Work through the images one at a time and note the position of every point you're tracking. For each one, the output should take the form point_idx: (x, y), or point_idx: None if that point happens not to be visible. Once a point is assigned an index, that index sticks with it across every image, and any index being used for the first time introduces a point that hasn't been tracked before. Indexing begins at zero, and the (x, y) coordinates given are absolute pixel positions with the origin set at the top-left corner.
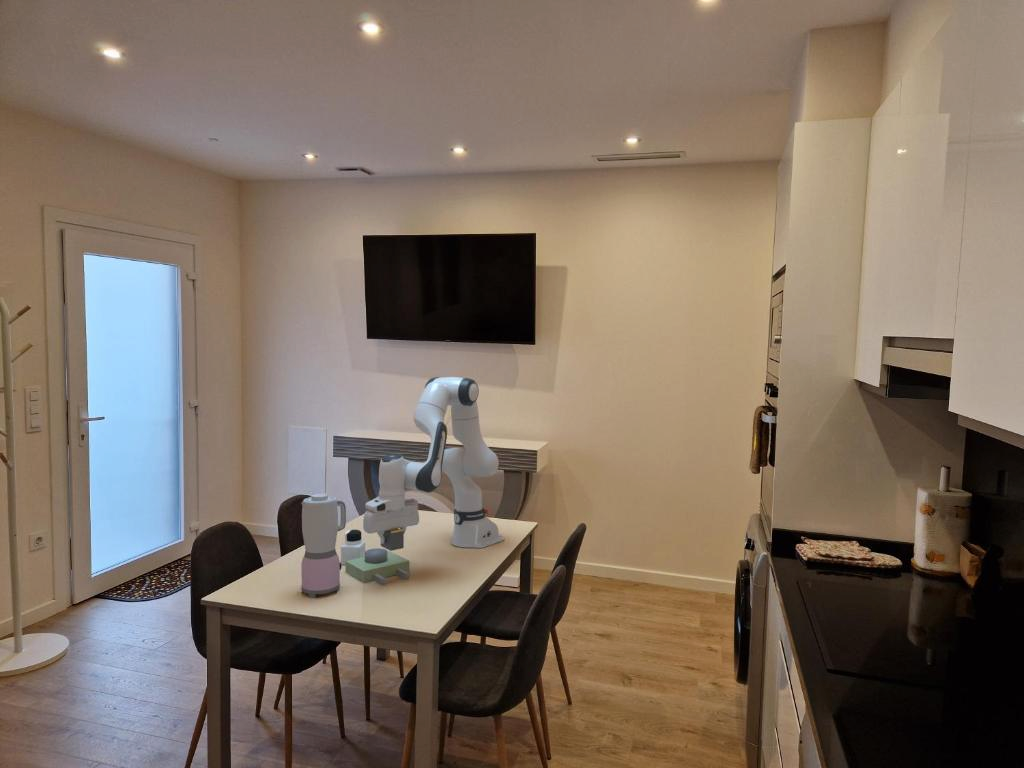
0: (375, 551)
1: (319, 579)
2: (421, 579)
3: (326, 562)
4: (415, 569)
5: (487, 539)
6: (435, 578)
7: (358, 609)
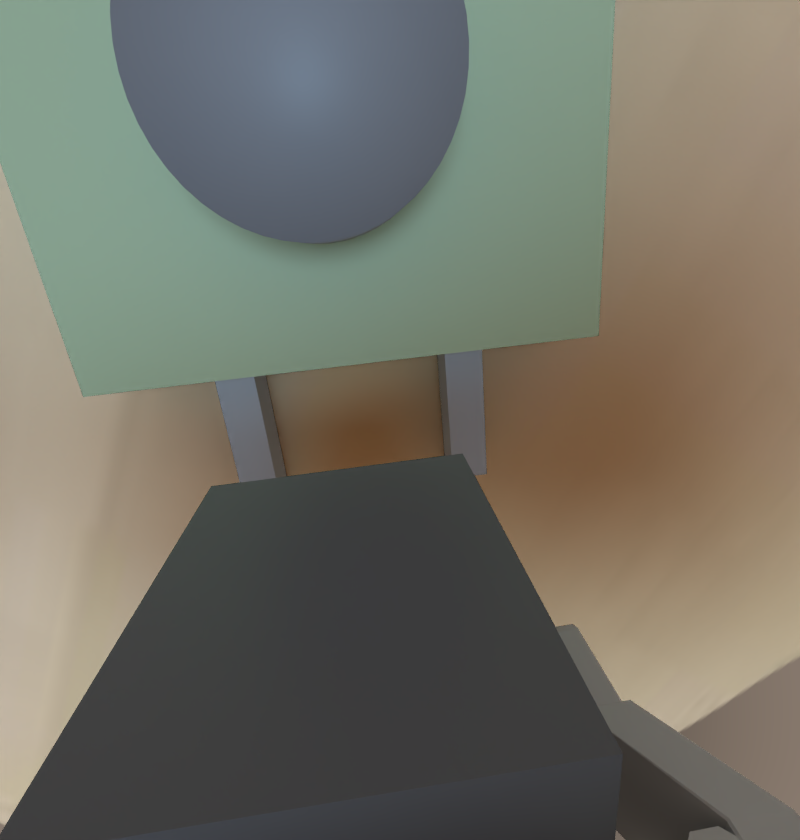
0: (295, 28)
1: None
2: (533, 510)
3: None
4: (619, 297)
5: None
6: (613, 536)
7: (23, 741)
